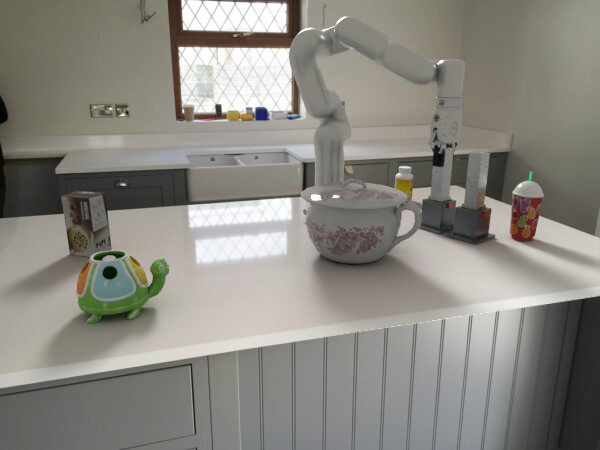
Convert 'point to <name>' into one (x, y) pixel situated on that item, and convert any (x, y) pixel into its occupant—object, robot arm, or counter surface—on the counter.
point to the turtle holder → (117, 284)
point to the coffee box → (86, 222)
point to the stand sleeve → (438, 216)
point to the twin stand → (474, 204)
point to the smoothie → (525, 210)
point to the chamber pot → (356, 220)
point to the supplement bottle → (405, 181)
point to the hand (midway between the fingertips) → (442, 164)
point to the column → (442, 178)
